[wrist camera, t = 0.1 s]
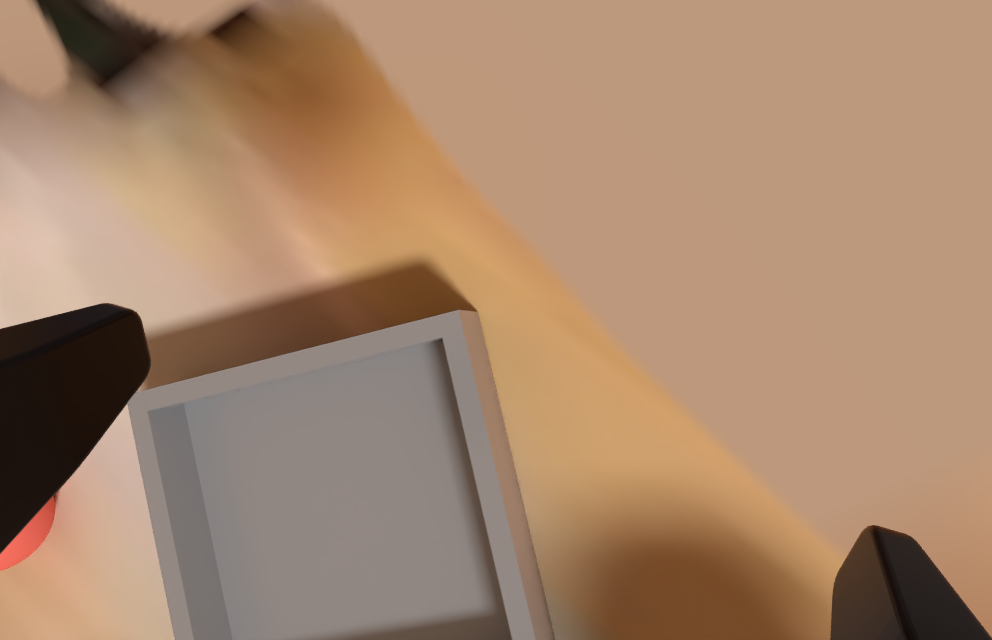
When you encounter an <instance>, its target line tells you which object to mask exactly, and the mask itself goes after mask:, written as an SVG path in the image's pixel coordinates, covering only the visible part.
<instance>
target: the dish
mask: <svg viewBox="0 0 992 640" xmlns="http://www.w3.org/2000/svg"><path fill="white" fill-rule="evenodd" d="M127 404H128V409H129V414H130V419H131V424H132V429H133V434H134V439H135V444H136V449H137V454H138V459H139V463H140V468H141V473H142V478H143V483H144V488H145V493H146V498H147V503H148V508H149V513H150V518H151V523H152V528H153V533H154V538H155V543H156V548H157V553H158V558H159V563H160V568H161V573H162V578H163V582H164V587H165V592H166V597H167V602H168V607H169V612H170V617H171V622H172V627H173V632H174V637H175V640H555V637H554V633H553V629H552V624H551V620H550V616H549V612H548V607H547V603H546V599H545V595H544V590H543V586H542V582H541V578H540V573H539V569H538V565H537V561H536V556H535V552H534V548H533V544H532V539H531V535H530V531H529V527H528V522H527V518H526V514H525V510H524V505H523V501H522V497H521V493H520V488H519V484H518V480H517V476H516V471H515V467H514V463H513V459H512V454H511V450H510V446H509V442H508V437H507V433H506V429H505V425H504V420H503V416H502V412H501V408H500V403H499V399H498V395H497V391H496V386H495V382H494V378H493V374H492V369H491V365H490V361H489V357H488V352H487V348H486V344H485V340H484V335H483V331H482V327H481V323H480V318H479V314H478V312H476V311H466V310H456V311H452V312H448V313H444V314H440V315H436V316H432V317H428V318H425V319H421V320H417V321H413V322H409V323H405V324H401V325H397V326H393V327H389V328H386V329H382V330H378V331H374V332H370V333H366V334H362V335H358V336H354V337H350V338H346V339H343V340H339V341H335V342H331V343H327V344H323V345H319V346H315V347H311V348H307V349H304V350H300V351H296V352H292V353H288V354H284V355H280V356H276V357H272V358H268V359H265V360H261V361H257V362H253V363H249V364H245V365H241V366H237V367H233V368H229V369H225V370H222V371H218V372H214V373H210V374H206V375H202V376H198V377H194V378H190V379H186V380H183V381H179V382H175V383H171V384H167V385H163V386H159V387H155V388H151V389H147V390H144V391H140V392H136V393H135V394H134V395H133V396H132V398H131V399H130V400H129V402H128V403H127Z"/></svg>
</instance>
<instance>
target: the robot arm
mask: <svg viewBox="0 0 992 640" xmlns="http://www.w3.org/2000/svg"><path fill="white" fill-rule="evenodd" d="M150 366H151V358H150V354H149V350H148V345H147V341H146V337H145V333H144V329H143V324H142V321H141V318H140V316H139V315H138V314H137V312H135V311H134V310H131V309H128V308H125V307H121V306H118V305H115V304H109V303H103V304H98V305H94V306H90V307H86V308H82V309H78V310H74V311H70V312H66V313H62V314H58V315H54V316H50V317H46V318H42V319H38V320H34V321H30V322H26V323H22V324H18V325H14V326H10V327H6V328H2V329H0V554H1V553H2V552H3V551H4V550H5V548H6V547H7V546H8V545H9V544H10V543H11V542H12V541H13V540H14V539H15V537H16V536H17V535H18V534H19V533H20V532H21V531H22V530H23V529H24V528H25V527H26V525H27V524H28V523H29V522H30V521H31V520H32V519H33V518H34V517H35V516H36V514H37V513H38V512H39V511H40V510H41V509H42V508H43V507H44V506H45V505H46V503H47V502H48V501H49V500H50V499H51V498H52V497H53V496H54V495H55V494H56V492H57V491H58V490H59V489H60V488H61V487H62V486H63V485H64V484H65V482H66V481H67V480H68V479H69V478H70V477H71V476H72V474H73V473H74V472H75V471H76V470H77V469H78V467H79V466H80V465H81V464H82V462H83V461H84V460H85V459H86V457H87V456H88V455H89V453H90V452H91V451H92V449H93V448H94V447H95V445H96V444H97V443H98V441H99V440H100V439H101V437H102V436H103V435H104V433H105V432H106V431H107V429H108V428H109V427H110V425H111V424H112V423H113V422H114V420H115V419H116V418H117V416H118V415H119V414H120V412H121V411H122V410H123V408H124V407H125V406H126V404H127V403H128V402H129V400H130V399H131V398H132V396H133V395H134V394H135V392H136V391H137V390H138V388H139V387H140V386H141V384H142V383H143V382H144V380H145V379H146V377H147V375H148V373H149V370H150ZM830 640H992V638H991V636H990V635H989V634H988V632H987V631H986V630H985V629H984V627H983V626H982V625H981V623H980V622H979V621H978V620H977V618H976V617H975V616H974V614H973V613H972V612H971V611H970V609H969V608H968V607H967V606H966V604H965V603H964V602H963V600H962V599H961V598H960V596H959V595H958V594H957V593H956V591H955V590H954V589H953V587H952V586H951V585H950V584H949V582H948V581H947V580H946V578H945V577H944V576H943V575H942V573H941V572H940V571H939V570H938V568H937V567H936V566H935V564H934V563H933V562H932V560H931V559H930V558H929V557H928V555H927V554H926V553H925V551H924V550H923V549H922V547H921V546H920V545H919V544H918V543H917V541H916V540H914V539H913V538H912V537H911V536H909V535H907V534H904V533H900V532H897V531H893V530H890V529H887V528H883V527H880V526H876V525H872V526H868V527H867V528H865V529H864V530H863V531H862V532H861V534H860V536H859V537H858V539H857V541H856V542H855V544H854V546H853V548H852V549H851V551H850V552H849V554H848V556H847V558H846V559H845V561H844V563H843V564H842V566H841V568H840V569H839V571H838V573H837V576H836V579H835V583H834V588H833V596H832V617H831V638H830Z"/></svg>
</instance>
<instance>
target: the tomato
mask: <svg viewBox="0 0 992 640" xmlns="http://www.w3.org/2000/svg"><path fill="white" fill-rule="evenodd" d="M54 515H55V501H54V496H53V497H52V498H51V499H50V500H49V501H48V502H47V503H46V505H45V506H44V507H43V508H42V509H41V510H40V511H39V512H38V513H37V514H36V516H35V517H34V518H33V519H32V520H31V521H30V522H29V523H28V524H27V525H26V527H25V528H24V529H23V530H22V531H21V532H20V533H19V534H18V535H17V536H16V537H15V539H14V540H13V541H12V542H11V543H10V544H9V545H8V546H7V547H6V548H5V550H4V551H3V552H2V553H1V554H0V571H1V570H4V569H7V568H9V567H11V566H14V565H16V564H18V563H19V562H21V561H22V560H24V559H25V558H27V557H28V556H30V555H31V554H32V553H33V552H34V551H35V550H36V549H37V548H38V547H39V546H40V545H41V543H42V542H43V541H44V540H45V538H46V536H47V535H48V533H49V531H50V529H51V527H52V523H53V520H54Z"/></svg>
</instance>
